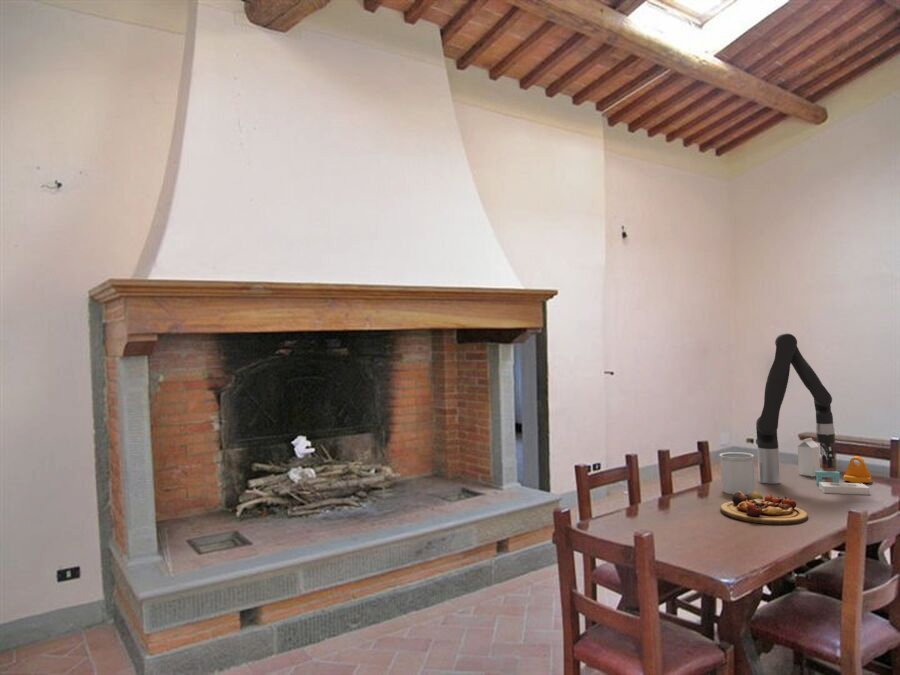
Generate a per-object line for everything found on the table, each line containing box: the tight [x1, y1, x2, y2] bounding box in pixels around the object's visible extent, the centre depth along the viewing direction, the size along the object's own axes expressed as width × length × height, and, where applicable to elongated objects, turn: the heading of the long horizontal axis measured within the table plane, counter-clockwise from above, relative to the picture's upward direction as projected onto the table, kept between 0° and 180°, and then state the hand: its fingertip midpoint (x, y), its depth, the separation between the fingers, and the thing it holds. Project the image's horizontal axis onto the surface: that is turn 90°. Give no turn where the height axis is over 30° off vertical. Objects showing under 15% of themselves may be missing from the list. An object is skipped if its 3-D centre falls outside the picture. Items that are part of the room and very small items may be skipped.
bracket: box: [842, 455, 872, 484], centre depth 300 cm, size 11×7×12 cm, turn 50°
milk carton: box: [797, 437, 821, 477], centre depth 318 cm, size 7×7×19 cm
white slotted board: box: [818, 481, 871, 496], centre depth 282 cm, size 18×9×3 cm, turn 71°
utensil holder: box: [719, 451, 756, 496], centre depth 288 cm, size 15×15×18 cm
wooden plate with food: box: [719, 490, 809, 525], centre depth 250 cm, size 32×32×8 cm
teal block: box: [814, 470, 841, 486], centre depth 295 cm, size 10×3×6 cm, turn 71°
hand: (827, 466), depth 295 cm, fingers open, 8 cm apart
